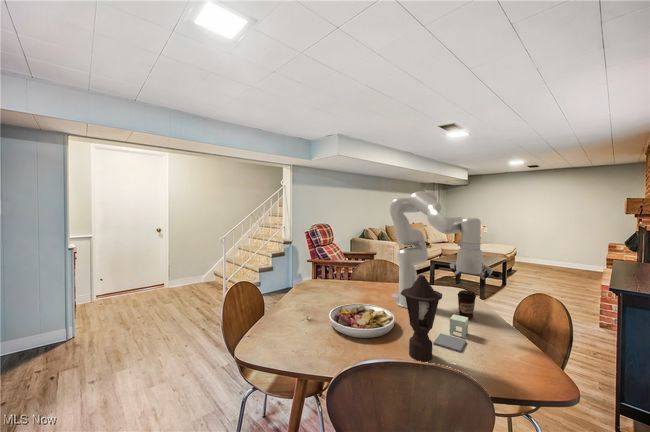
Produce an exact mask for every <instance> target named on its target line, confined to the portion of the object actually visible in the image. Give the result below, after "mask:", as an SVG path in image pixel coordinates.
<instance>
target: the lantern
mask: <svg viewBox="0 0 650 432" xmlns="http://www.w3.org/2000/svg"><path fill="white" fill-rule="evenodd" d="M401 295H403V296H404V297H406V302H407V308H406V309H407V313H408V319H409V326H410V327H411V328H412V331H413V334H412V336H410V338H409V339H408V341H409V342H408V343H409V344H408V355H409V357H410V358H411V359H413V360H414V361H418V362H421V361H423V362H424V363H425V362H430V361H432V359H433V341H432V340H431V338H430V337H429V333H430V330H432V329H433V326H434V322H435V318H436V314H437V310H438V306H439V301H441V300H442V298H443V293H442V292H439V291H437V290H434V288H433V287H432V286H431V284H430V282H429V281H428V279H427V277H426V276H425V275H422V274H420V275H418V276H417V280H416V281H415V283H414V284H413V286H412V287H411V288H407V289H404V290H402V292H401Z"/></svg>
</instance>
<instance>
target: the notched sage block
mask: <svg viewBox="0 0 650 432" xmlns="http://www.w3.org/2000/svg"><path fill="white" fill-rule="evenodd" d="M457 327H459V328H461V339H463V340H466V337H467V336H466V335H468V334H469V320H468V317H463V316H459V314H458V315H457V314H452V315H451V317H450V318H449V336H453V335H454V332H456V331H457Z"/></svg>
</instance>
